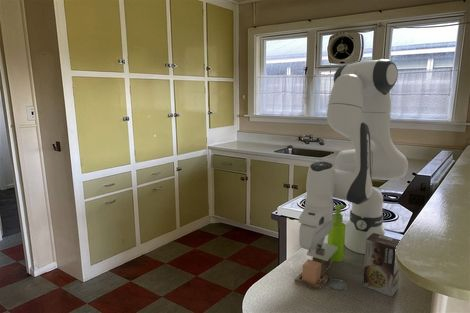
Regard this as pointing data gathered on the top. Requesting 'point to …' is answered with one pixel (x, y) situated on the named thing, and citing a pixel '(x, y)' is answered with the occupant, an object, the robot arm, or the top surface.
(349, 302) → the top surface
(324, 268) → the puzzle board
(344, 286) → the slate coaster
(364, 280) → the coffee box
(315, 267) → the terracotta block
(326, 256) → the sliding lid
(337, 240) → the soap dispenser
